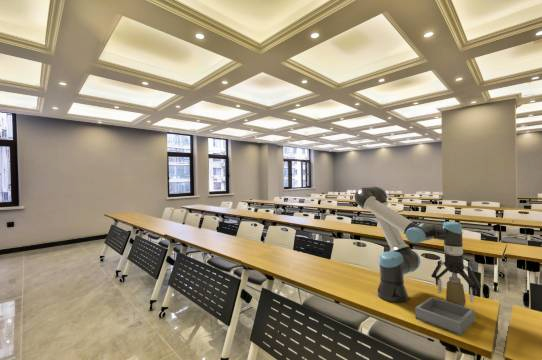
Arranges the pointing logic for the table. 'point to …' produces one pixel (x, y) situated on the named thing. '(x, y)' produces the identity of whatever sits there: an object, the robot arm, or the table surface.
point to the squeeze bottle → (455, 291)
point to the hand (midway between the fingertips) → (455, 296)
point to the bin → (445, 315)
